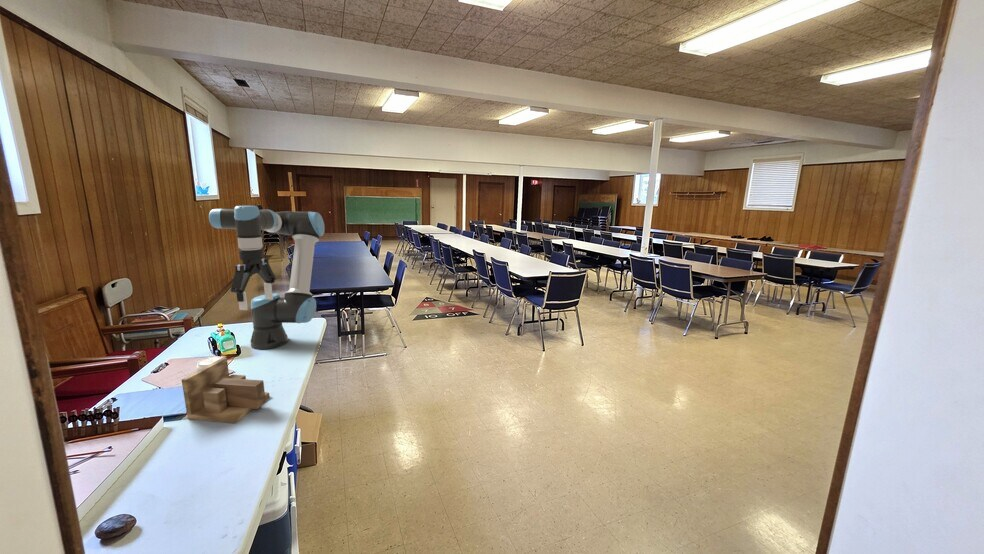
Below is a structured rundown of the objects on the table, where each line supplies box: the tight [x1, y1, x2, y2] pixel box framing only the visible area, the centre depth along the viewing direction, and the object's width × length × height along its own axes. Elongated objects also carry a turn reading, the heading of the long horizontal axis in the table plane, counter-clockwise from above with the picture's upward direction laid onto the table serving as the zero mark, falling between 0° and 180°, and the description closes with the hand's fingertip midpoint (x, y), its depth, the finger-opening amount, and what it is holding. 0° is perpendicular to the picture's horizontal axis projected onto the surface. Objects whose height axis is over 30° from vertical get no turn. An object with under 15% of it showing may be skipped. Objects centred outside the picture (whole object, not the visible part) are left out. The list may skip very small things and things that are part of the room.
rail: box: [214, 378, 267, 410], centre depth 124 cm, size 4×14×8 cm, turn 86°
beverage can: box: [196, 355, 223, 372], centre depth 134 cm, size 8×8×12 cm
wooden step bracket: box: [181, 357, 270, 424], centre depth 125 cm, size 16×16×14 cm
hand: (257, 304), depth 143 cm, fingers open, 13 cm apart
